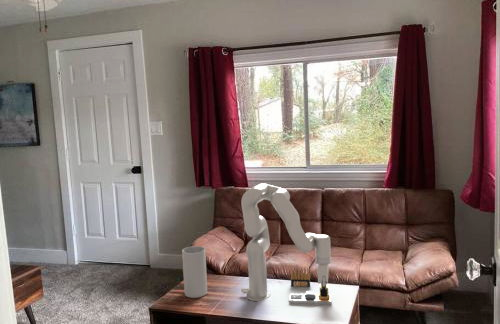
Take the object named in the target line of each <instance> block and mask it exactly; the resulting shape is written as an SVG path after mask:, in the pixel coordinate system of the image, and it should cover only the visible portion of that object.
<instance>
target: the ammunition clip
mask: <svg viewBox="0 0 500 324" xmlns="http://www.w3.org/2000/svg"><path fill="white" fill-rule="evenodd" d="M290 287H293V288H294V287H297V288H311V274H310V268H309V267H307V269H306V267H304V268H303V266H301V267H300V266H298V267H296V266H294V267H293V266H291V268H290Z"/></svg>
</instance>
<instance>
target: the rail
mask: <svg viewBox="0 0 500 324" xmlns="http://www.w3.org/2000/svg"><path fill="white" fill-rule="evenodd" d="M328 294H329V300H320V293H318V294H317V293H314V300H306V293H290V294H289V297H288V299H289V300H288V304H289V305H311V306H312V305H313V306H319V305H320V306H332V295H331V293H328Z"/></svg>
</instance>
